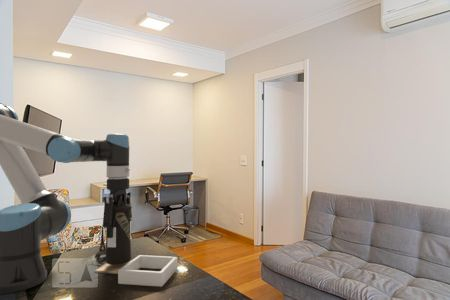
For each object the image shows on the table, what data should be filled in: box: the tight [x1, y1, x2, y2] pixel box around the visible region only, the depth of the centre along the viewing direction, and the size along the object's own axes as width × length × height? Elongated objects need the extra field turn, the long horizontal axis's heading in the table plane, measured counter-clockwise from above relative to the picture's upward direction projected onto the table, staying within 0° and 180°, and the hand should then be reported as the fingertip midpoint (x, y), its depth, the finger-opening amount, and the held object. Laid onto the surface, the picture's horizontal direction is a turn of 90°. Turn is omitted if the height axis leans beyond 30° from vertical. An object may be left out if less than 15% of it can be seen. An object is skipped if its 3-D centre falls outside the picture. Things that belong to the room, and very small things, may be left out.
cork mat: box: [94, 259, 133, 275], centre depth 103 cm, size 11×11×1 cm
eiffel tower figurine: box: [81, 223, 106, 266], centre depth 113 cm, size 15×10×13 cm
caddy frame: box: [117, 254, 178, 287], centre depth 95 cm, size 14×14×4 cm
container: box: [105, 203, 133, 265], centre depth 103 cm, size 9×9×20 cm
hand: (118, 243), depth 103 cm, fingers closed on container, 8 cm apart
